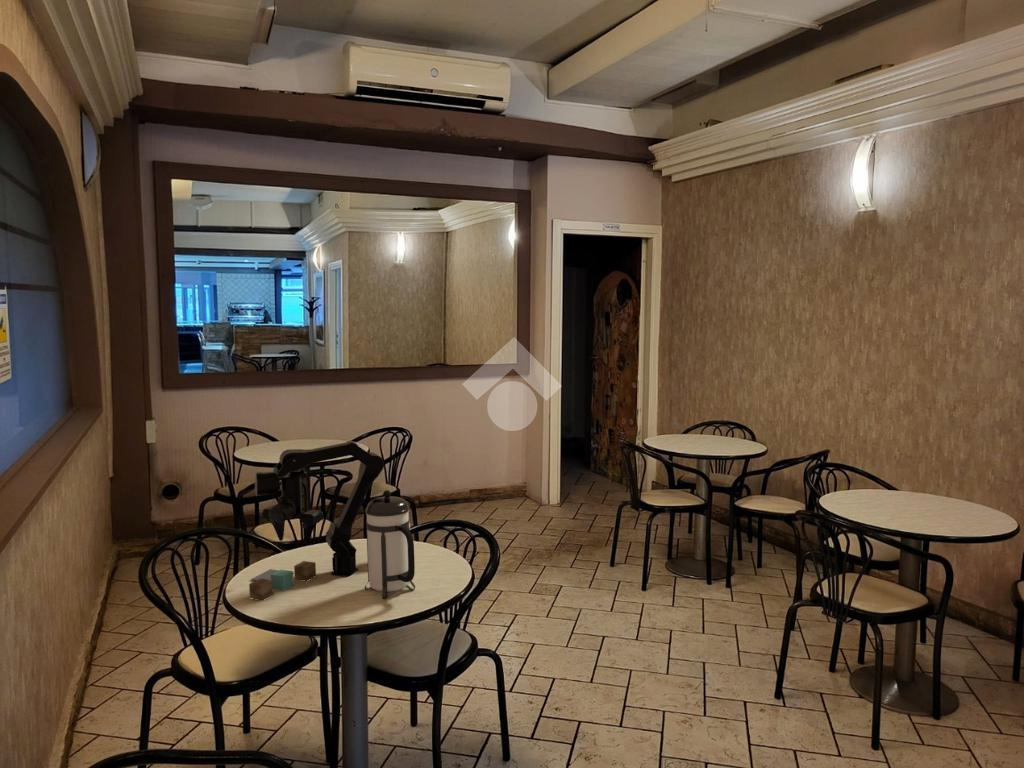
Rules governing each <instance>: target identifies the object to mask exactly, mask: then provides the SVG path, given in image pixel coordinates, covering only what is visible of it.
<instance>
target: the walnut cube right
mask: <svg viewBox="0 0 1024 768" xmlns="http://www.w3.org/2000/svg"><path fill="white" fill-rule="evenodd" d="M316 566H317V565H316V562H313V561H307V560H303V561H300V562H298V563H296V564H295V565H293V567H294V571H293V572H294V580H295V581H300V580H305V581H304V582H308V581H307V580H309V579H311V578H312V579H314V578H315V577H314V576H316V577H317V572H316V571H317V568H316ZM313 577H314V578H313ZM312 579H311V580H312ZM309 581H310V580H309Z"/></svg>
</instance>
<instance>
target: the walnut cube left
mask: <svg viewBox="0 0 1024 768" xmlns="http://www.w3.org/2000/svg"><path fill="white" fill-rule="evenodd" d="M248 585H249V586H248V589H249V599H250V598H253V599H252V600H255V599H258V600H257V601H261V600H263V601H265V600H266V598H267V599H268V597H269V598H270V597H272V596H274V589H273V582H272V580H267V579H258V580H256V581H251V582H250V583H249V584H248ZM264 599H265V600H264Z"/></svg>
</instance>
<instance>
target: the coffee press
mask: <svg viewBox="0 0 1024 768" xmlns="http://www.w3.org/2000/svg"><path fill="white" fill-rule="evenodd" d="M382 495H383V496H381V497H376V498H374V499H372V500H371V499H370V501H369V502H368V503H367V505H366V507H365V508H364V511H365V514H366V521H365V528H366V549H367V550H366V553H367V554H366V555H367V583H366V584H365V586H364V590H365V591H369V590H370V589H373V590H375V591H378V592H381V600H387V599H388V596H389V592H390V593H391V592H396V591H400V590H402V589H404V588H407V589H408V590H410V591H411V592H414V591H415V589H416V584H414V582H413V580H414V578H415V577H414V576H415V567H416V566H415V544H414V538H413V534H412V533H411V530H410V528H409V523H410V517H409V512H410V505H409V504H408V502H407V501H406V499H404V498H402V497H399V496H392V493H391V491H390V490H389V489H387V490H384V491H383V493H382ZM409 584H411V586H412V587H413V588H412V587H411V586H409ZM367 585H369V586H370V587H367Z"/></svg>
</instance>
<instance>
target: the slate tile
mask: <svg viewBox="0 0 1024 768" xmlns="http://www.w3.org/2000/svg"><path fill="white" fill-rule="evenodd" d="M278 570H279V569H268V570H266V571H264V572H262V573H260V574H258V575H257V576H255V577H253V578H251V579H250V582H254V581H256V580H258V579H267V580H271V574H273V573H275V572H277V571H278ZM293 575H295V571H293Z"/></svg>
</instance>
